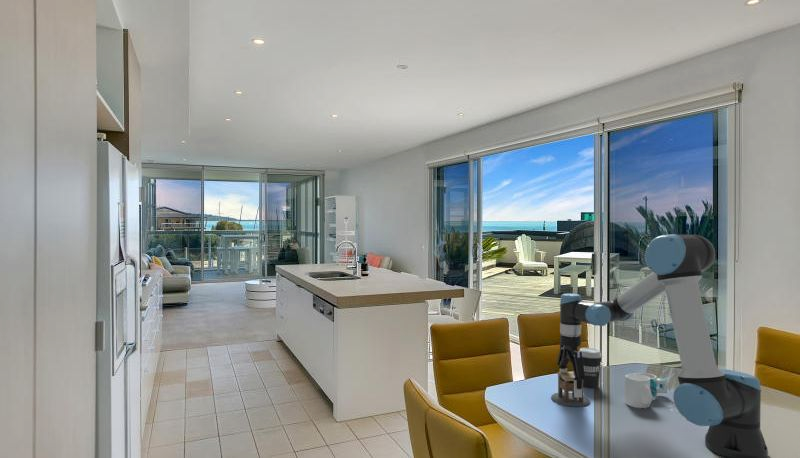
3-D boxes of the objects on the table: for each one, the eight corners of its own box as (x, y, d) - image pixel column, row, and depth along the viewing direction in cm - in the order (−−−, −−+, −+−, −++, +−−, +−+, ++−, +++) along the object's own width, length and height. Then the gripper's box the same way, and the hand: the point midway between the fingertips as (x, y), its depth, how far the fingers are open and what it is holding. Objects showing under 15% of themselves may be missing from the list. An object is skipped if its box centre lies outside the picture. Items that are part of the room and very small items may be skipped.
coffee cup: (572, 384, 198) (572, 348, 198) (589, 381, 202) (589, 346, 202) (590, 391, 189) (590, 354, 189) (607, 388, 193) (607, 351, 194)
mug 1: (661, 412, 168) (661, 383, 168) (639, 413, 167) (639, 384, 167) (641, 400, 180) (641, 373, 180) (620, 401, 179) (620, 373, 179)
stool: (583, 402, 176) (583, 377, 176) (565, 402, 176) (565, 377, 176) (575, 395, 183) (575, 371, 183) (557, 395, 183) (557, 372, 183)
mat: (597, 406, 173) (597, 405, 173) (560, 407, 172) (560, 406, 172) (579, 393, 187) (579, 392, 187) (545, 394, 186) (545, 392, 186)
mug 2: (629, 393, 188) (629, 372, 188) (657, 392, 189) (657, 371, 189) (642, 400, 179) (642, 378, 179) (671, 399, 181) (671, 377, 181)
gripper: (595, 342, 168) (595, 402, 168) (566, 327, 192) (566, 380, 192) (575, 342, 167) (575, 403, 167) (548, 328, 192) (548, 380, 192)
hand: (570, 391), depth 180 cm, fingers open, 12 cm apart
